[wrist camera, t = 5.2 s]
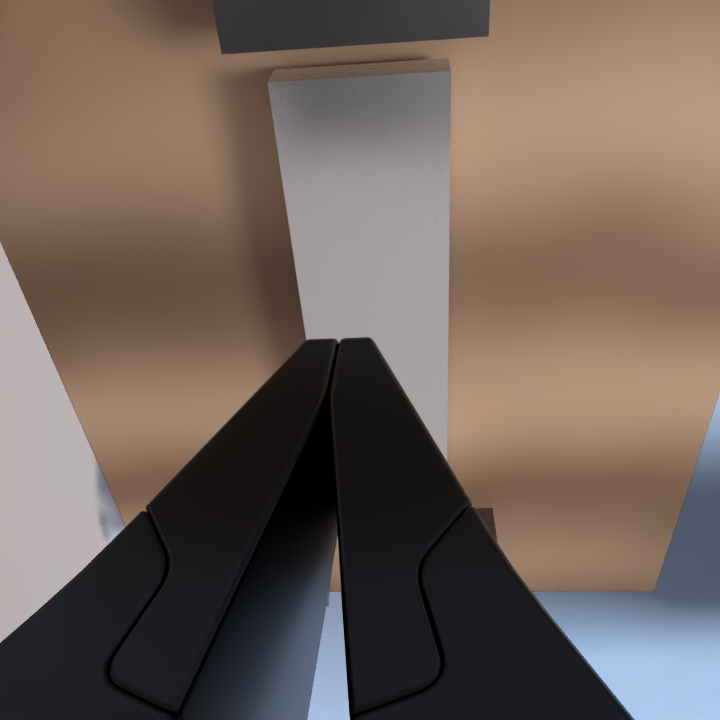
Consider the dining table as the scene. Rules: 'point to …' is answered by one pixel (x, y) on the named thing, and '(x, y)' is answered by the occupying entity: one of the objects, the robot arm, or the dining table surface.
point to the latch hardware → (347, 37)
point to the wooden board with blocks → (466, 252)
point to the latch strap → (373, 212)
